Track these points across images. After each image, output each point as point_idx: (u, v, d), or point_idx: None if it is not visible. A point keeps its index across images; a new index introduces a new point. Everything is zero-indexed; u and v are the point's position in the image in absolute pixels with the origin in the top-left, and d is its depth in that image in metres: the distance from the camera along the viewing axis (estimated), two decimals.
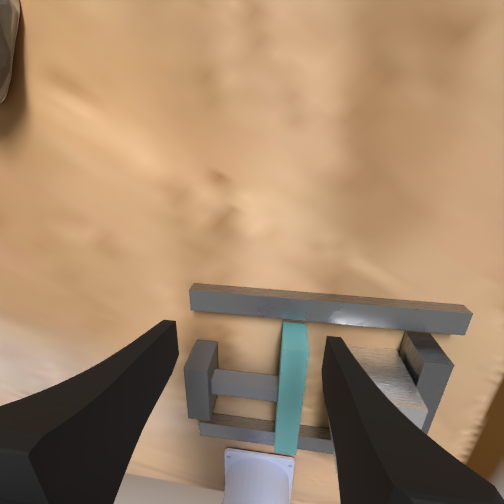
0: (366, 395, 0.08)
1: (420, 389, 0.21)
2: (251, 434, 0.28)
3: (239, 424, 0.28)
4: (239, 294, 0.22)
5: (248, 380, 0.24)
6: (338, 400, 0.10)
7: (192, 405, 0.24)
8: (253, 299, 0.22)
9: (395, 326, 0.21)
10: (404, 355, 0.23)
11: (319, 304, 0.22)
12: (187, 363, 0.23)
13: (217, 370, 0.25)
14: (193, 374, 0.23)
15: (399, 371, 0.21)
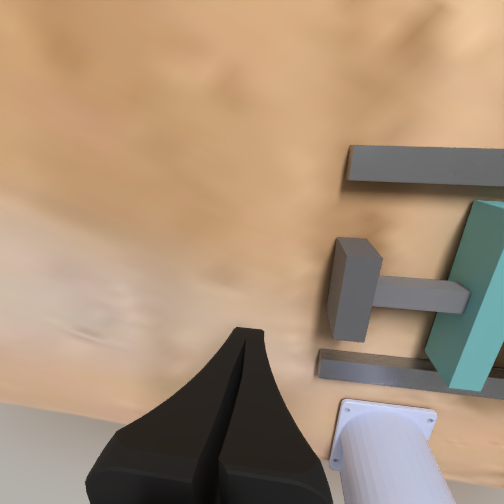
0: (254, 382, 0.09)
1: None
2: (392, 374, 0.21)
3: (375, 361, 0.22)
4: (431, 147, 0.15)
5: (422, 284, 0.17)
6: None
7: (344, 319, 0.17)
8: (451, 155, 0.15)
9: None
10: None
11: None
12: (347, 253, 0.16)
13: None
14: (359, 266, 0.16)
15: None
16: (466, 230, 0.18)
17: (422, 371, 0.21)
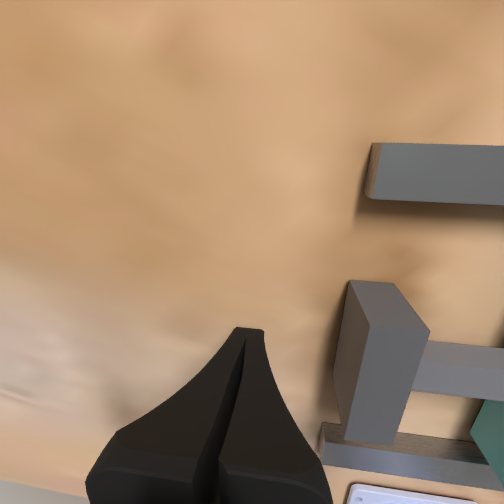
0: (254, 382, 0.09)
1: None
2: (424, 465, 0.15)
3: (400, 446, 0.15)
4: None
5: (483, 360, 0.11)
6: None
7: (362, 414, 0.11)
8: None
9: None
10: None
11: None
12: (369, 317, 0.10)
13: None
14: (390, 341, 0.10)
15: None
16: None
17: (468, 463, 0.15)
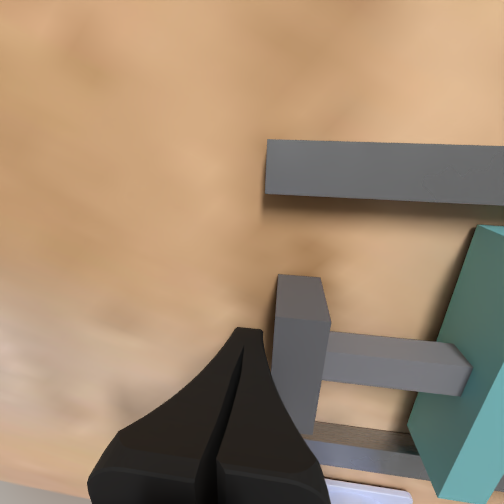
0: (253, 382, 0.09)
1: None
2: (349, 454, 0.16)
3: (327, 436, 0.16)
4: (386, 144, 0.10)
5: (398, 351, 0.11)
6: None
7: None
8: (419, 155, 0.10)
9: None
10: None
11: None
12: (279, 309, 0.10)
13: None
14: (296, 332, 0.10)
15: None
16: (464, 268, 0.12)
17: (389, 452, 0.15)
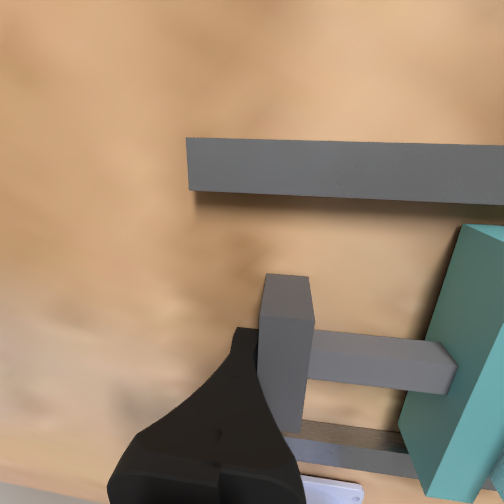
0: (238, 380, 0.09)
1: None
2: (296, 447, 0.16)
3: None
4: (298, 141, 0.10)
5: (384, 350, 0.12)
6: None
7: (267, 402, 0.11)
8: (329, 152, 0.10)
9: None
10: None
11: (487, 155, 0.09)
12: (264, 308, 0.10)
13: None
14: (280, 331, 0.10)
15: None
16: (451, 267, 0.12)
17: (333, 445, 0.16)
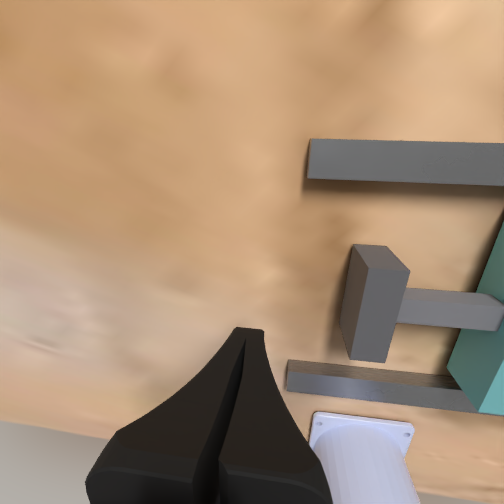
0: (254, 382, 0.09)
1: None
2: (364, 387, 0.20)
3: (346, 373, 0.20)
4: (397, 141, 0.14)
5: (451, 298, 0.15)
6: None
7: (363, 337, 0.15)
8: (420, 149, 0.14)
9: None
10: None
11: None
12: (368, 264, 0.14)
13: None
14: (382, 280, 0.14)
15: None
16: (500, 236, 0.16)
17: (396, 384, 0.19)
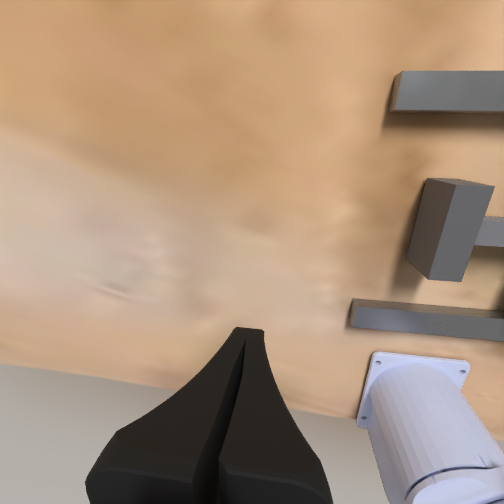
0: (254, 382, 0.09)
1: None
2: (428, 320, 0.21)
3: (410, 308, 0.21)
4: (481, 71, 0.15)
5: None
6: None
7: (443, 256, 0.17)
8: (502, 78, 0.15)
9: None
10: None
11: None
12: (453, 184, 0.16)
13: None
14: (468, 196, 0.15)
15: None
16: None
17: (458, 316, 0.21)
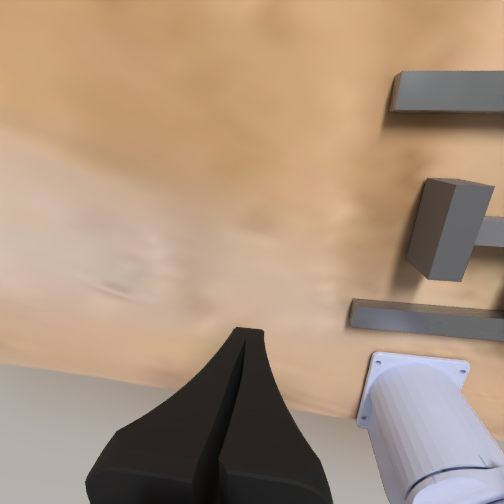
0: (254, 382, 0.09)
1: None
2: (428, 320, 0.21)
3: (410, 308, 0.21)
4: (481, 71, 0.15)
5: None
6: None
7: (443, 256, 0.17)
8: (502, 78, 0.15)
9: None
10: None
11: None
12: (453, 184, 0.16)
13: None
14: (468, 196, 0.15)
15: None
16: None
17: (458, 316, 0.21)
